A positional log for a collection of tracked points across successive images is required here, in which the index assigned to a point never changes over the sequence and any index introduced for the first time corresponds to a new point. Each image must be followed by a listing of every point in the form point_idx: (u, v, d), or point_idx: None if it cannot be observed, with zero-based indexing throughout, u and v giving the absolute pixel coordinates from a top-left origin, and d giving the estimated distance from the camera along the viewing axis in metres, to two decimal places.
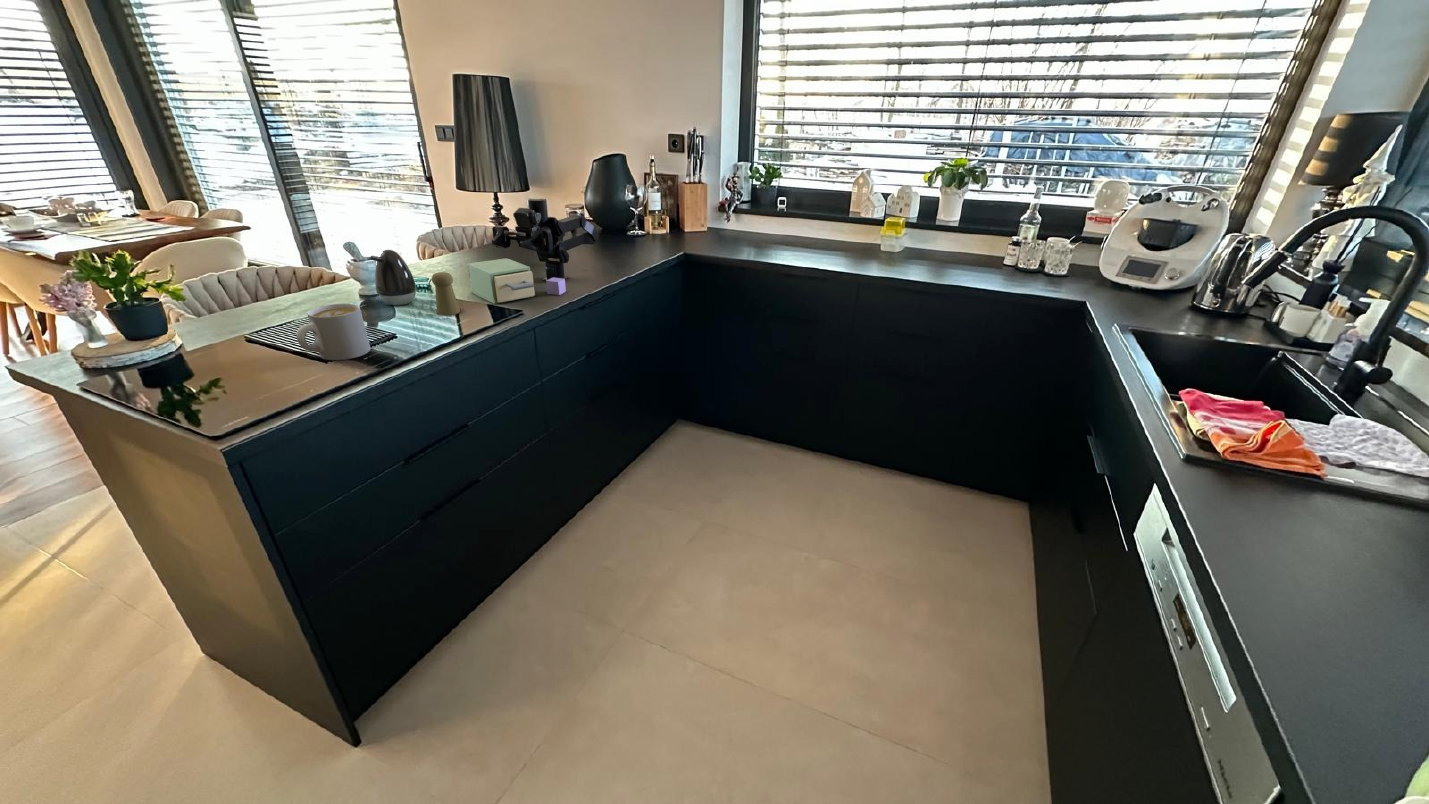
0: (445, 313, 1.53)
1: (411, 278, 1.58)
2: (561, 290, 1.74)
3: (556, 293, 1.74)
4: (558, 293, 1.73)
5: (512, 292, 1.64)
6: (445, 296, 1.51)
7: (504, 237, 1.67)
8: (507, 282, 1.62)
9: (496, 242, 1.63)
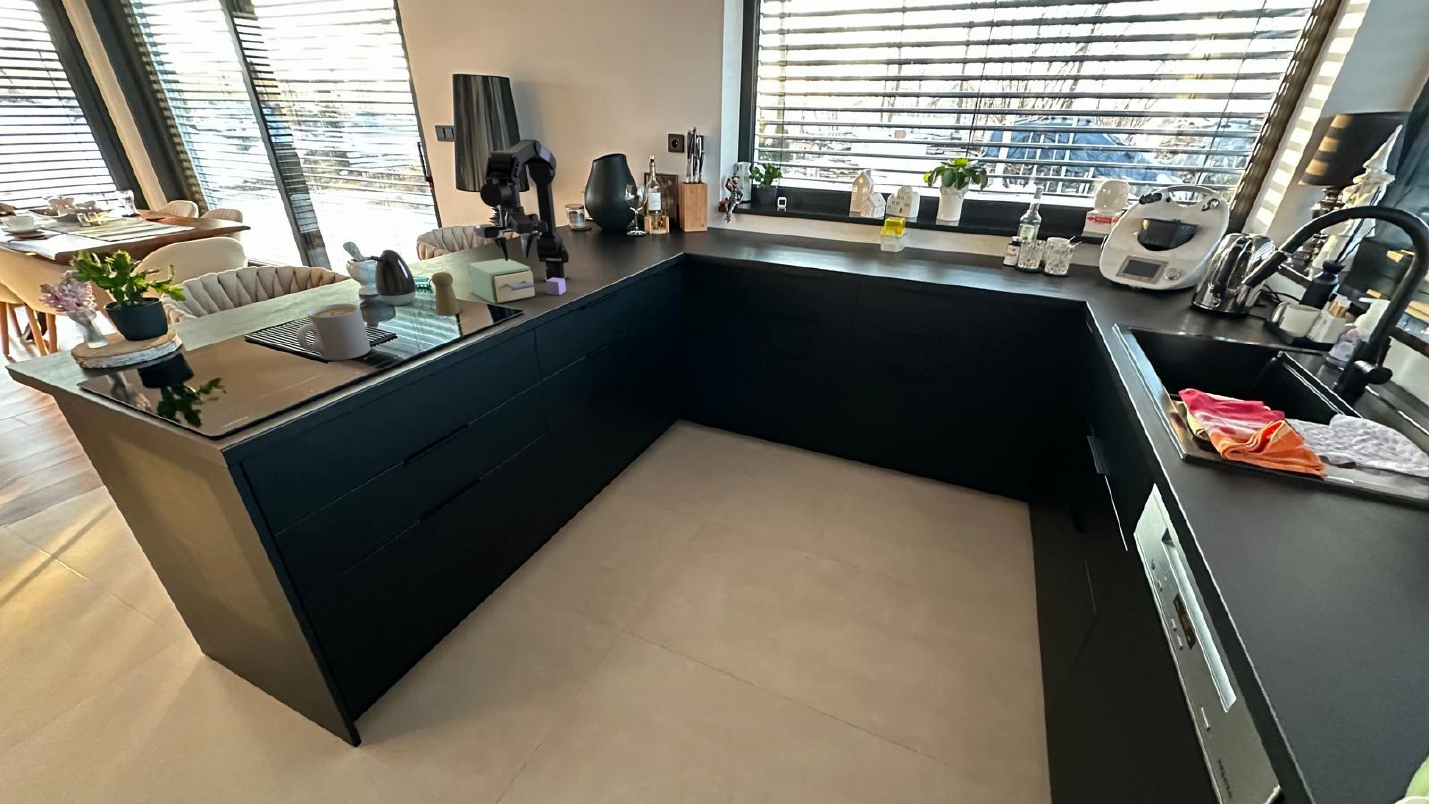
0: (445, 313, 1.53)
1: (411, 278, 1.58)
2: (561, 290, 1.74)
3: (556, 293, 1.74)
4: (558, 293, 1.73)
5: (512, 292, 1.64)
6: (445, 296, 1.51)
7: None
8: (507, 282, 1.62)
9: None
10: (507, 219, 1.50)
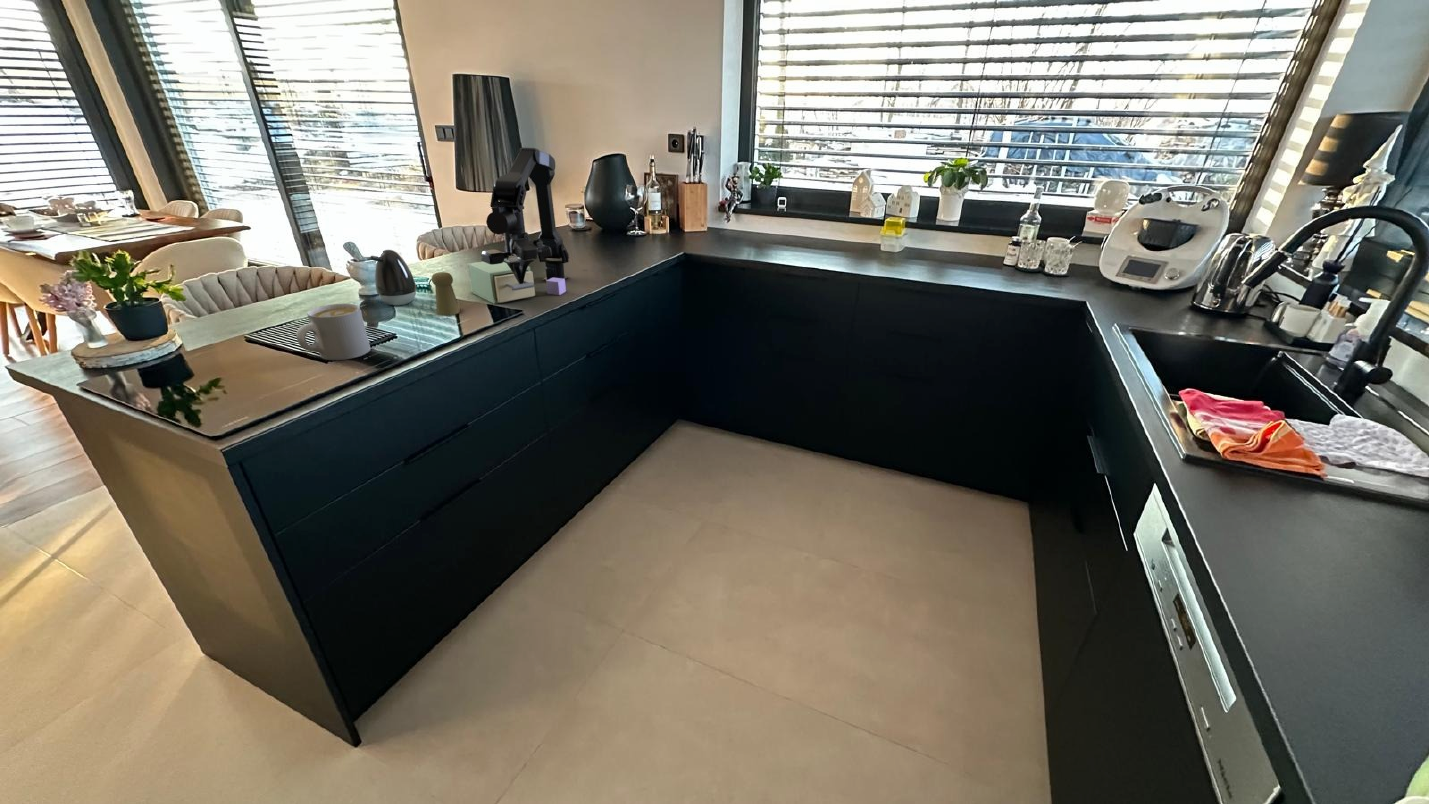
0: (445, 313, 1.53)
1: (411, 278, 1.58)
2: (561, 290, 1.74)
3: (556, 293, 1.74)
4: (558, 293, 1.73)
5: (512, 292, 1.64)
6: (445, 296, 1.51)
7: None
8: (507, 282, 1.61)
9: None
10: (512, 245, 1.52)
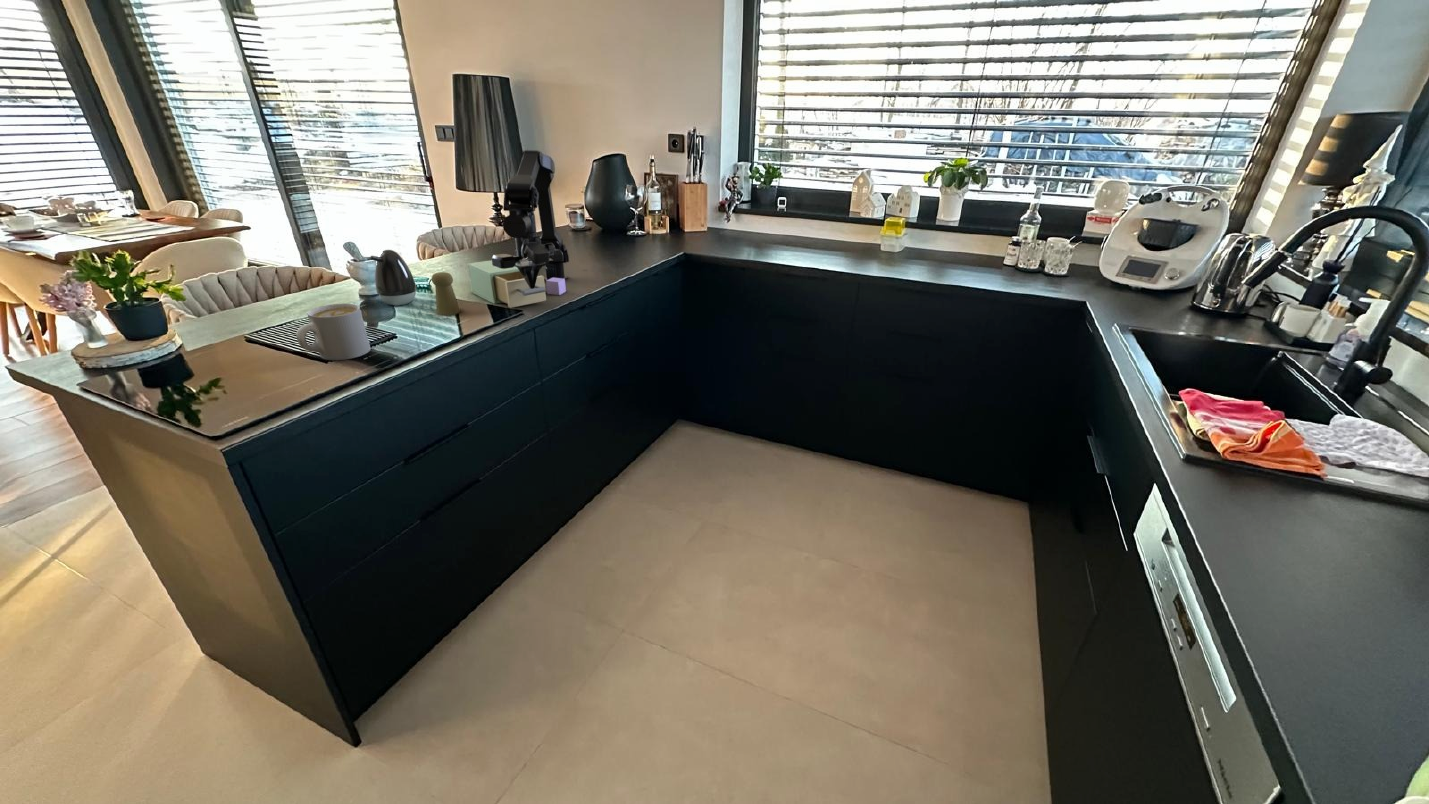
0: (445, 313, 1.53)
1: (411, 278, 1.58)
2: (561, 290, 1.74)
3: (556, 293, 1.74)
4: (558, 293, 1.73)
5: (523, 297, 1.60)
6: (445, 296, 1.51)
7: None
8: (518, 287, 1.58)
9: None
10: (523, 249, 1.48)
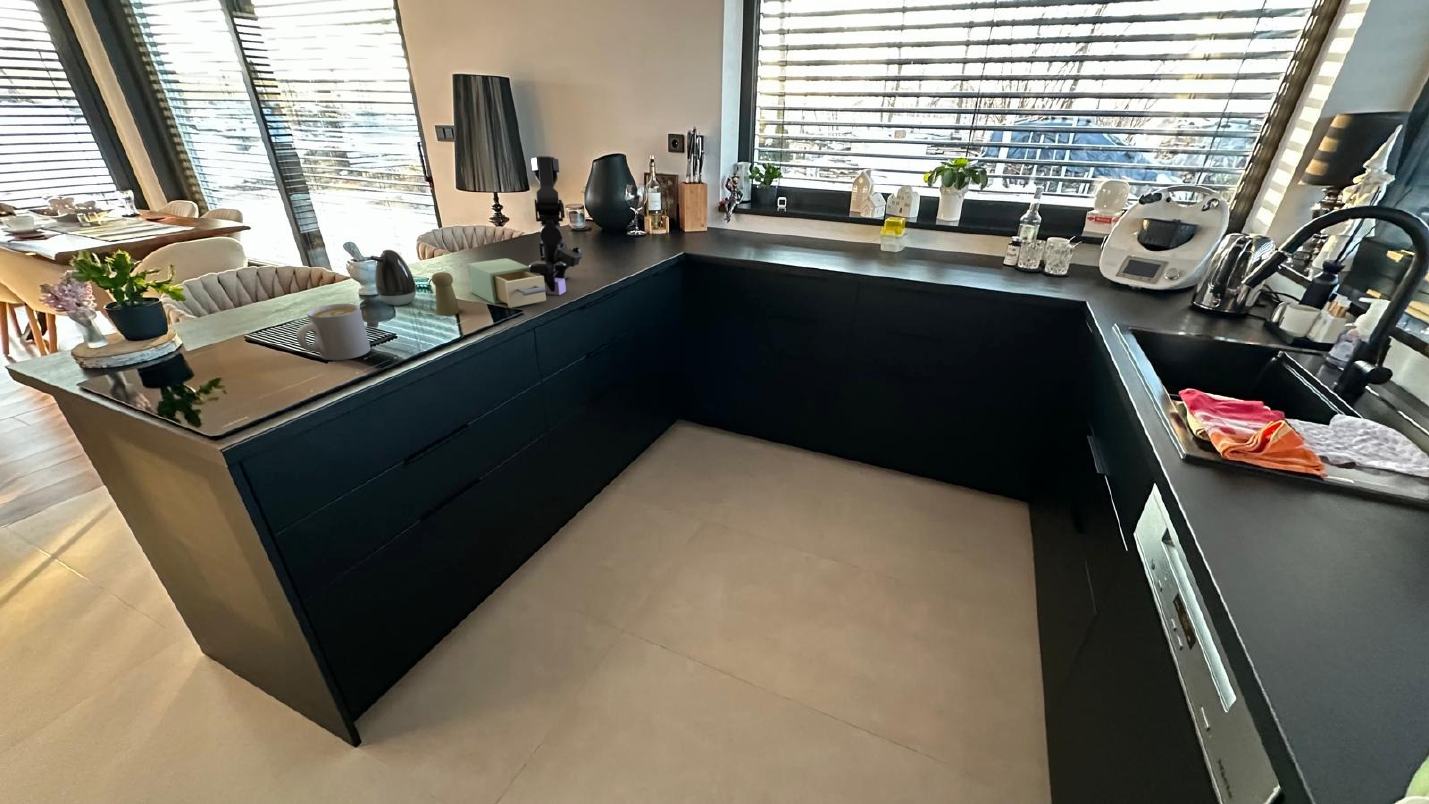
0: (445, 313, 1.53)
1: (411, 278, 1.58)
2: (561, 290, 1.74)
3: (556, 293, 1.74)
4: (558, 293, 1.73)
5: (523, 297, 1.60)
6: (445, 296, 1.51)
7: None
8: (518, 287, 1.58)
9: None
10: (557, 254, 1.67)
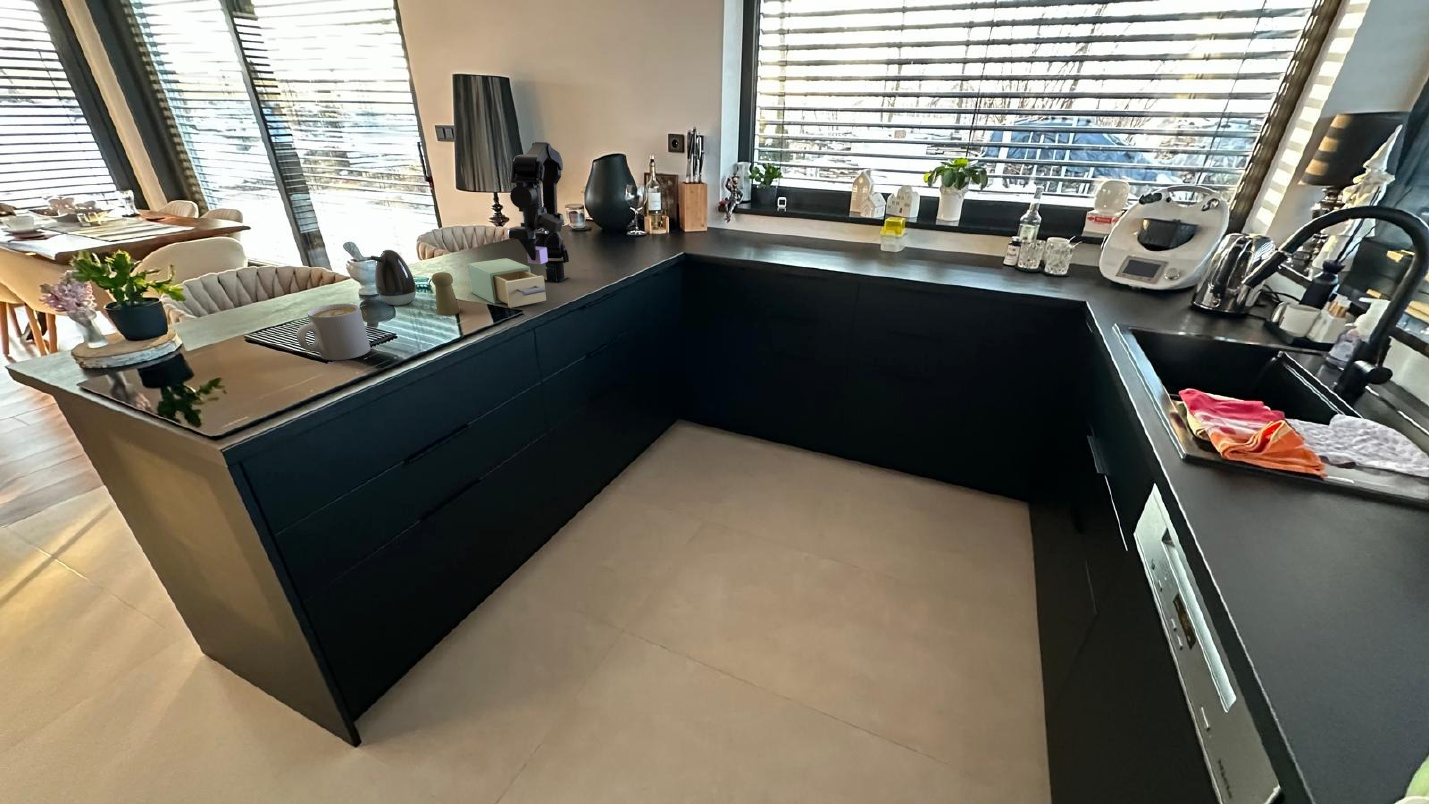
0: (445, 313, 1.53)
1: (411, 278, 1.58)
2: (543, 259, 1.65)
3: (537, 262, 1.64)
4: (539, 262, 1.64)
5: (523, 297, 1.60)
6: (445, 296, 1.51)
7: None
8: (518, 287, 1.58)
9: None
10: (538, 220, 1.58)
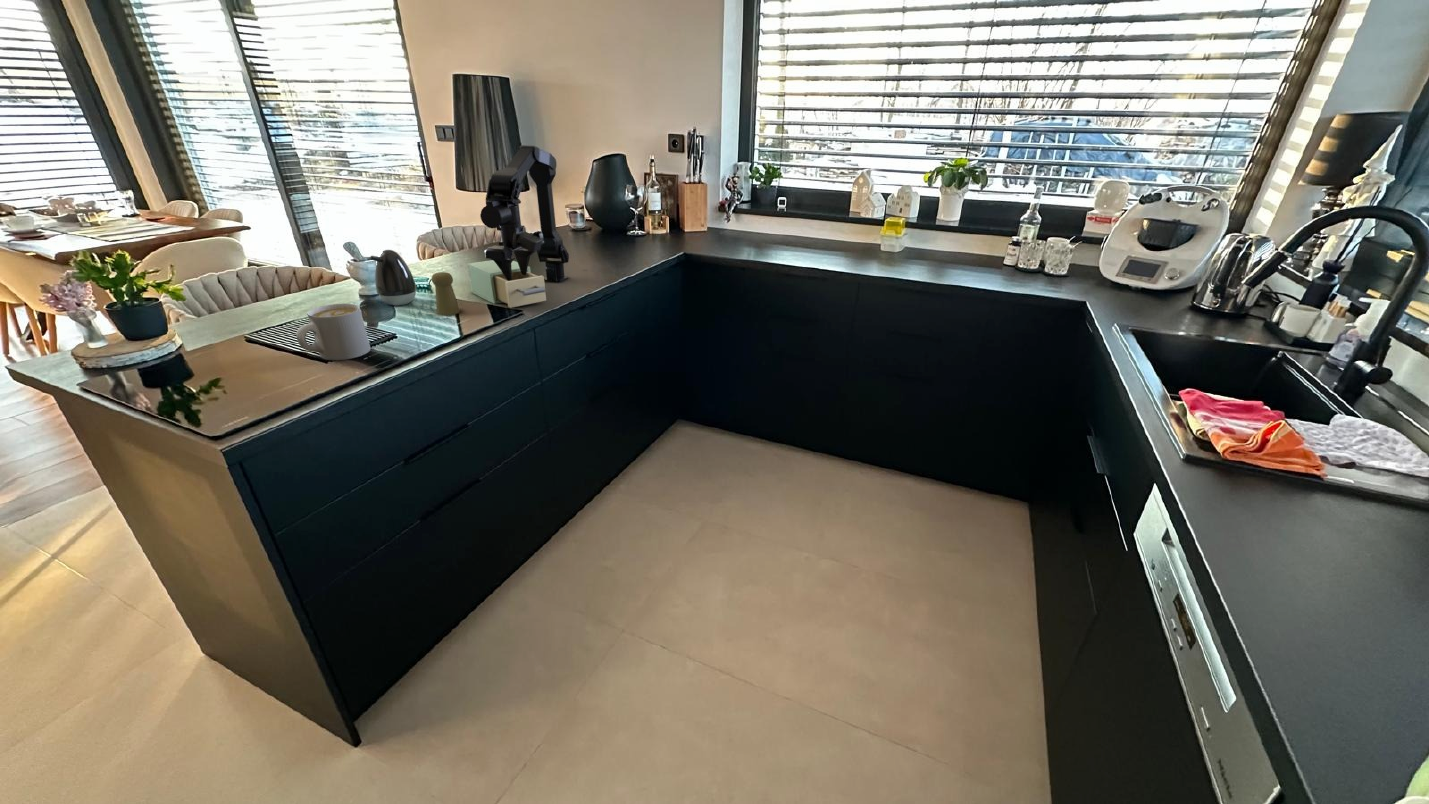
0: (445, 313, 1.53)
1: (411, 278, 1.58)
2: None
3: None
4: None
5: (523, 297, 1.60)
6: (445, 296, 1.51)
7: None
8: (518, 287, 1.58)
9: None
10: (516, 239, 1.53)
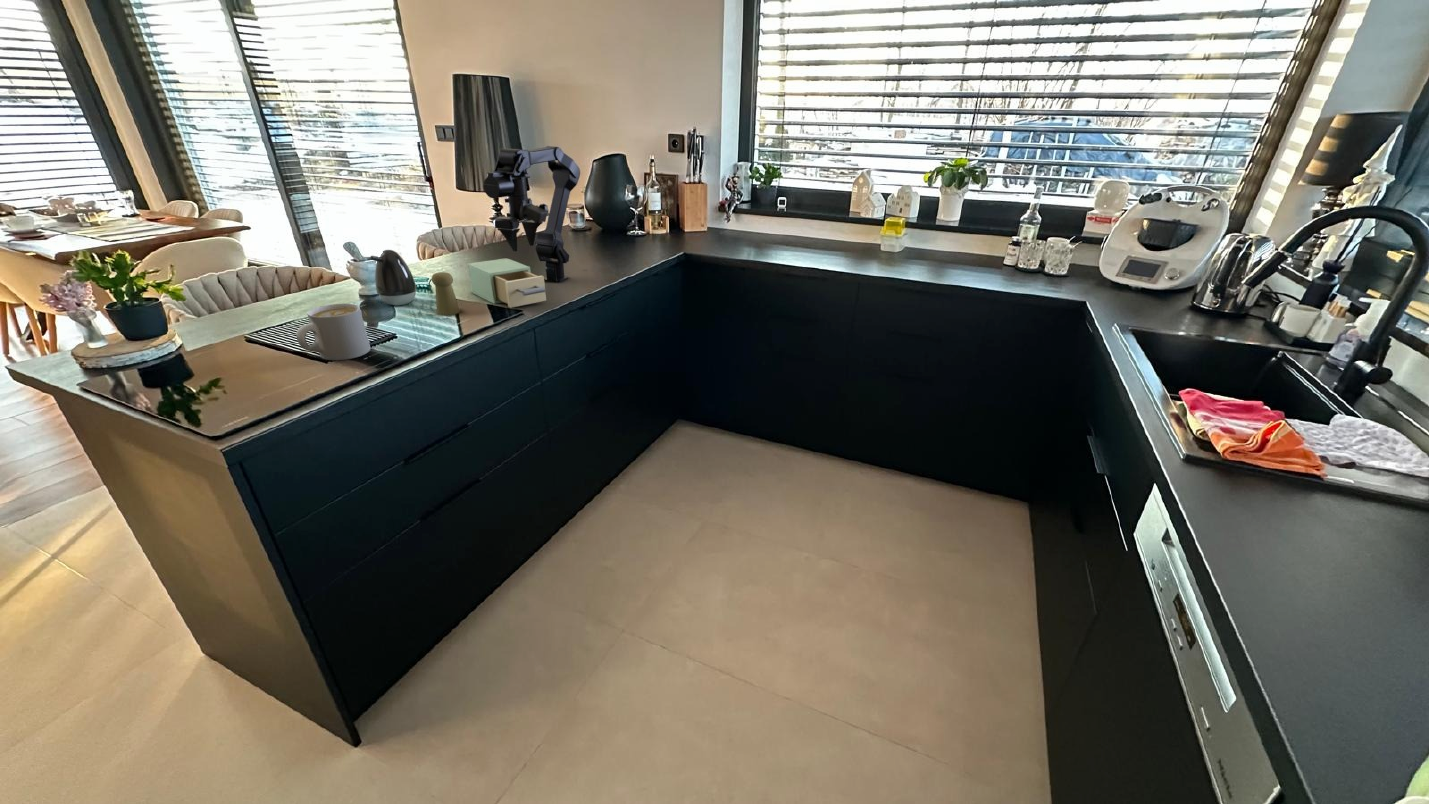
0: (445, 313, 1.53)
1: (411, 278, 1.58)
2: None
3: None
4: None
5: (523, 297, 1.60)
6: (445, 296, 1.51)
7: None
8: (518, 287, 1.58)
9: None
10: (523, 210, 1.64)
